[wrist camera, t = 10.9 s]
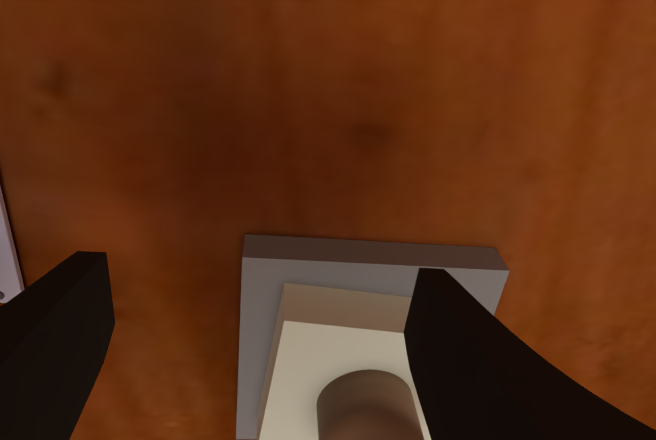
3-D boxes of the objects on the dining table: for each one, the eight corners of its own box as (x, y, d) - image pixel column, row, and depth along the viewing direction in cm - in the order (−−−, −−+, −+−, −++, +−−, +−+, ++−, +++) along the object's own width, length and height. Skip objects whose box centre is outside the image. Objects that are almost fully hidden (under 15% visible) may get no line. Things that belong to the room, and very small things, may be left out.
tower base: (239, 401, 30) (235, 438, 28) (246, 226, 24) (242, 257, 22) (437, 404, 31) (448, 440, 29) (490, 240, 25) (509, 270, 23)
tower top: (257, 416, 27) (254, 460, 25) (284, 282, 23) (284, 320, 20) (418, 429, 28) (429, 470, 26) (473, 304, 24) (492, 342, 22)
